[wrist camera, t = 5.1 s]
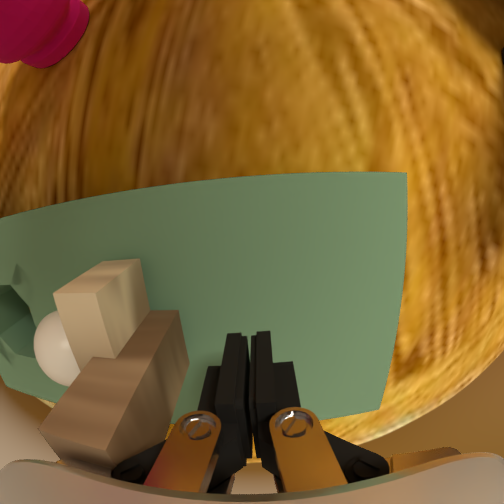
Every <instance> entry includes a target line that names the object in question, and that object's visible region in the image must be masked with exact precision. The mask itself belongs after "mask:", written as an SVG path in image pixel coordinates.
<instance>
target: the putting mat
mask: <svg viewBox="0 0 504 504" xmlns="http://www.w3.org/2000/svg"><path fill="white" fill-rule="evenodd" d="M406 242H407V173H401V172H317V173H291V174H273V175H258V176H244V177H232V178H221V179H211V180H202V181H193V182H184V183H176V184H168V185H161V186H154V187H147V188H140V189H134V190H128V191H122V192H116V193H110V194H104V195H99V196H93V197H88V198H83V199H78V200H73V201H69V202H64V203H59V204H55V205H50V206H46V207H42V208H37V209H33V210H29V211H25V212H21V213H18V214H14V215H10V216H6V217H3V218H0V375H1V377H2V378H3V380H4V382H5V384H6V386H7V387H10V388H12V389H15V390H17V391H20V392H23V393H26V394H29V395H32V396H35V397H38V398H41V399H44V400H48V401H51V402H54V403H57V402H58V401H59V399H60V398H61V397H62V395H63V394H64V393H65V391H66V390H67V389H68V388H69V386H64V385H61V384H59V383H57V382H55V381H53V380H52V379H51V378H49V377H48V376H47V375H46V374H45V373H44V371H43V370H42V369H41V367H40V366H39V364H38V362H37V359H36V356H35V352H34V335H35V332H36V329H37V327H38V325H39V323H40V322H41V321H42V319H43V318H44V317H46V316H47V315H48V314H50V313H52V312H54V311H57V307H56V303H55V300H54V296H53V293H54V292H55V291H57V290H58V289H60V288H61V287H63V286H64V285H66V284H67V283H69V282H71V281H72V280H74V279H75V278H77V277H78V276H80V275H81V274H83V273H85V272H86V271H88V270H89V269H91V268H92V267H94V266H96V265H97V264H99V263H101V262H102V261H112V260H126V259H140V261H141V267H142V272H143V278H144V283H145V288H146V293H147V297H148V302H149V307H150V310H179V315H180V320H181V325H182V330H183V335H184V339H185V344H186V349H187V353H188V358H189V362H190V364H189V367H188V370H187V373H186V376H185V379H184V382H183V385H182V388H181V391H180V394H179V397H178V400H177V403H176V406H175V410H174V413H173V416H172V419H171V422H170V424H175V423H176V422H177V420H178V419H179V418H180V417H181V416H183V415H184V414H187V413H189V412H193V411H197V409H198V405H199V401H200V396H201V392H202V388H203V384H204V380H205V376H206V372H207V368H208V366H221V364H222V358H223V352H224V347H225V341H226V336H227V333H240V332H241V333H242V336H247V339H248V348H249V357H250V352H251V335H256V332H257V331H270V333H271V345H272V357H273V363H276V362H288V361H293V364H294V370H295V376H296V381H297V387H298V393H299V398H300V404H301V408H305V409H308V410H310V411H312V412H313V413H314V414H315V415H316V416H317V418H318V420H324V419H331V418H337V417H343V416H349V415H354V414H360V413H365V412H369V411H374V410H378V409H379V408H380V405H381V401H382V397H383V393H384V390H385V386H386V382H387V377H388V373H389V369H390V364H391V359H392V355H393V349H394V344H395V339H396V333H397V327H398V321H399V314H400V307H401V299H402V291H403V282H404V271H405V258H406ZM29 308H30V309H29ZM30 311H31V312H30Z"/></svg>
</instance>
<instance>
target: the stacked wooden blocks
mask: <svg viewBox="0 0 504 504" xmlns="http://www.w3.org/2000/svg"><path fill="white" fill-rule="evenodd" d="M53 296H54V300H55V303H56V307H57V310H58V313H59V316H60V319H61V322H62V325H63V328H64V331H65V334H66V337H67V339H68V342H69V345H70V347H71V350H72V353H73V355H74V357H75V360H76V362H77V365H78V367H79V369H80V373H79V375H78V376H77V377H76V379H75V380H74V381H73V382H72V384H71V385H70V386H69V388H68V389H67V390H66V391H65V393H64V394H63V395H62V397H61V398H60V399H59V401H58V402H57V403H56V405H55V406H54V407H53V409H52V410H51V411H50V413H49V414H48V416H47V417H46V418H45V420H44V421H43V423H42V424H41V425H40V427H39V428H38V430H39V431H40V433H41V434H42V436H43V437H44V438H45V440H46V441H47V442H48V444H49V445H50V446H51V448H52V449H53V450H54V452H55V453H56V454H57V455H58V457H59V458H60V459H76V460H83V461H86V462H89V463H92V464H96V465H99V466H103V467H107V468H111V469H112V470H113V471H114V468H115V467H117V465H118V464H119V463H120V462H122V461H124V460H126V459H128V458H130V457H132V456H134V455H136V454H138V453H141V452H143V451H145V450H147V449H149V448H151V447H153V446H155V445H157V444H159V443H161V442H162V441H164V440H165V438H166V434H167V431H168V428H169V425H170V422H171V419H172V416H173V413H174V410H175V406H176V403H177V400H178V397H179V394H180V391H181V388H182V385H183V382H184V379H185V376H186V373H187V370H188V367H189V364H190V362H189V358H188V353H187V349H186V344H185V339H184V335H183V330H182V325H181V320H180V315H179V310H150V307H149V302H148V297H147V293H146V288H145V283H144V278H143V272H142V267H141V261H140V259H126V260H112V261H102V262H101V263H99V264H97V265H96V266H94V267H92V268H91V269H89V270H88V271H86V272H85V273H83V274H81V275H80V276H78V277H77V278H75V279H74V280H72V281H71V282H69V283H67V284H66V285H64V286H63V287H61V288H60V289H58V290H57V291H55V292H54V293H53Z"/></svg>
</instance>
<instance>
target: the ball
mask: <svg viewBox="0 0 504 504" xmlns="http://www.w3.org/2000/svg"><path fill="white" fill-rule="evenodd" d="M34 352H35V356H36V359H37V362H38V364H39V366H40V367H41V369H42V370H43V371H44V373H45V374H46V375H47V376H48V377H49V378H51V379H52V380H53V381H55V382H57V383H59V384H61V385H64V386H70V385H71V384H72V382H73V381H74V380H75V379H76V377H77V376H78V375H79V373H80V369H79V367H78V365H77V362H76V360H75V357H74V355H73V353H72V350H71V347H70V345H69V342H68V339H67V337H66V334H65V331H64V328H63V325H62V322H61V319H60V316H59V313H58V310H57V311H54V312H52V313H50V314H48V315H47V316H46V317H44V318H43V319H42V321H41V322H40V323H39V325H38V327H37V329H36V332H35V335H34Z"/></svg>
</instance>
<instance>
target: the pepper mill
mask: <svg viewBox="0 0 504 504" xmlns="http://www.w3.org/2000/svg"><path fill="white" fill-rule="evenodd" d="M88 21H89V10H88V7H87V6H86V5H85V4H84V3H83V2H82V1H80V0H0V63H13V62H17V61H19V60H21V61H22V62H23V63H25V64H28V65H30V66H33V67H36V68H46V67H49V66H51V65H53V64H55V63H57V62H58V61H60V60H61V59H62V58H64V57H65V56H66V55H67V54H68V53H69V52H70V51H71V50H72V49H73V48H74V47H75V45H76V44H77V43H78V41H79V40H80V38H81V37H82V35H83V33H84V32H85V30H86V27H87V24H88Z"/></svg>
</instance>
